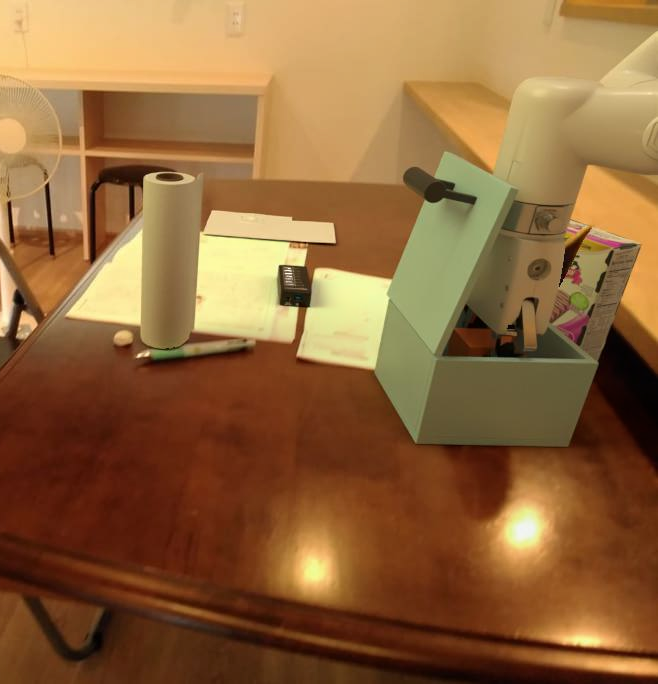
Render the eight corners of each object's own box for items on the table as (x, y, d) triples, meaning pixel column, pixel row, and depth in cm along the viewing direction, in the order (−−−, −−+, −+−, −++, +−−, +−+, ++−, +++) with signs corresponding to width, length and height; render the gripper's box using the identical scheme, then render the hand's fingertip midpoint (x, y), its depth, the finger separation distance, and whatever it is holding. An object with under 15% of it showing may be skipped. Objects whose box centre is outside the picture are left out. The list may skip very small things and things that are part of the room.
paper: (202, 236, 127) (202, 230, 127) (208, 210, 142) (208, 205, 142) (340, 245, 124) (340, 240, 124) (331, 218, 139) (332, 213, 139)
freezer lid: (451, 152, 71) (398, 140, 70) (519, 189, 58) (455, 174, 57) (392, 295, 78) (344, 285, 78) (441, 356, 65) (383, 344, 65)
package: (495, 369, 77) (507, 329, 75) (515, 390, 73) (528, 348, 71) (442, 367, 77) (452, 327, 74) (458, 388, 73) (470, 346, 70)
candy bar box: (496, 335, 93) (530, 217, 85) (524, 330, 94) (559, 214, 87) (569, 374, 84) (614, 246, 76) (598, 368, 85) (645, 241, 78)
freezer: (502, 375, 83) (524, 301, 78) (568, 447, 70) (599, 363, 66) (373, 373, 83) (388, 298, 78) (415, 444, 70) (436, 359, 65)
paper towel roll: (139, 349, 87) (143, 181, 77) (140, 328, 92) (143, 169, 82) (196, 351, 87) (207, 183, 77) (194, 330, 92) (203, 170, 82)
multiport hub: (305, 279, 109) (306, 266, 108) (310, 307, 100) (312, 292, 99) (277, 277, 110) (278, 264, 109) (279, 305, 100) (281, 290, 99)
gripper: (617, 244, 59) (553, 421, 67) (522, 192, 74) (479, 342, 82) (530, 241, 59) (477, 419, 67) (452, 190, 74) (417, 341, 82)
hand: (479, 375), depth 75 cm, fingers closed on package, 4 cm apart
